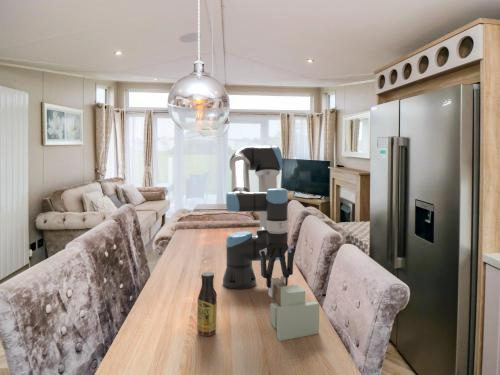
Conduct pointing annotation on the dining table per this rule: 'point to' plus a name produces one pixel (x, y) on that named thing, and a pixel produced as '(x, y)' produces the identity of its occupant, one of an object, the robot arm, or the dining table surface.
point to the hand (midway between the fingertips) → (277, 294)
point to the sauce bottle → (207, 306)
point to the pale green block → (294, 314)
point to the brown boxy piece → (277, 290)
